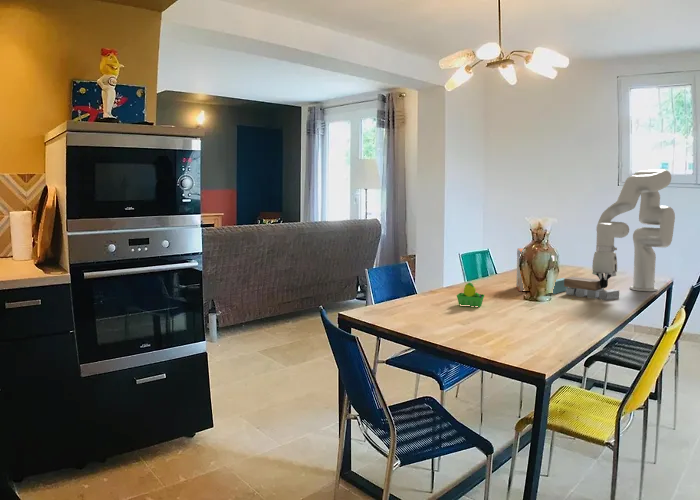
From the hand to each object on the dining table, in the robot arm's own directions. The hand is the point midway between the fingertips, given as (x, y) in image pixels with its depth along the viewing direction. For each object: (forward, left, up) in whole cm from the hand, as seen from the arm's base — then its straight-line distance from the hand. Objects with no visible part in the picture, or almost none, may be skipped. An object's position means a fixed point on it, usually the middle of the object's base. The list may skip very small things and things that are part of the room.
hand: (603, 287), depth 258 cm
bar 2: (0, -10, -5) cm, 11 cm away
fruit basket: (+58, -34, -5) cm, 68 cm away
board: (0, -10, -1) cm, 10 cm away
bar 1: (0, -15, -5) cm, 16 cm away
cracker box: (+6, -38, -5) cm, 39 cm away
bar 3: (0, -4, -5) cm, 6 cm away
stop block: (0, -22, -5) cm, 23 cm away
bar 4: (0, +3, -5) cm, 6 cm away
